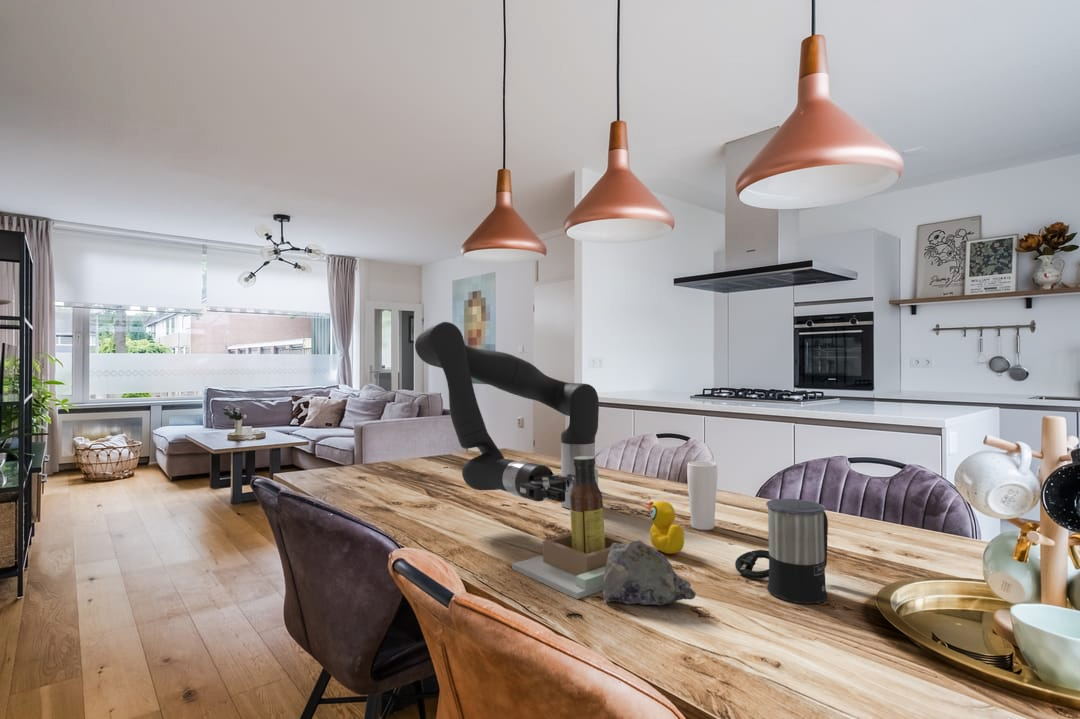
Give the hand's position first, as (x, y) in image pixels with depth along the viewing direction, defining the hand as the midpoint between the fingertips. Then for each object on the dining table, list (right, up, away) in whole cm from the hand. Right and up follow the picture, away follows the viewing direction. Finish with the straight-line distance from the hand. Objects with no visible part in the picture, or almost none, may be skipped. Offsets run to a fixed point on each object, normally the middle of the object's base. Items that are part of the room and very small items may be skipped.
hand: (580, 493), depth 109 cm
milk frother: (+33, -14, -11) cm, 38 cm away
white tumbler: (+30, -14, +24) cm, 41 cm away
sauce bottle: (+1, -13, -2) cm, 13 cm away
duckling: (+18, -14, +7) cm, 24 cm away
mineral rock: (+9, -14, -18) cm, 24 cm away
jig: (+1, -14, -2) cm, 14 cm away
